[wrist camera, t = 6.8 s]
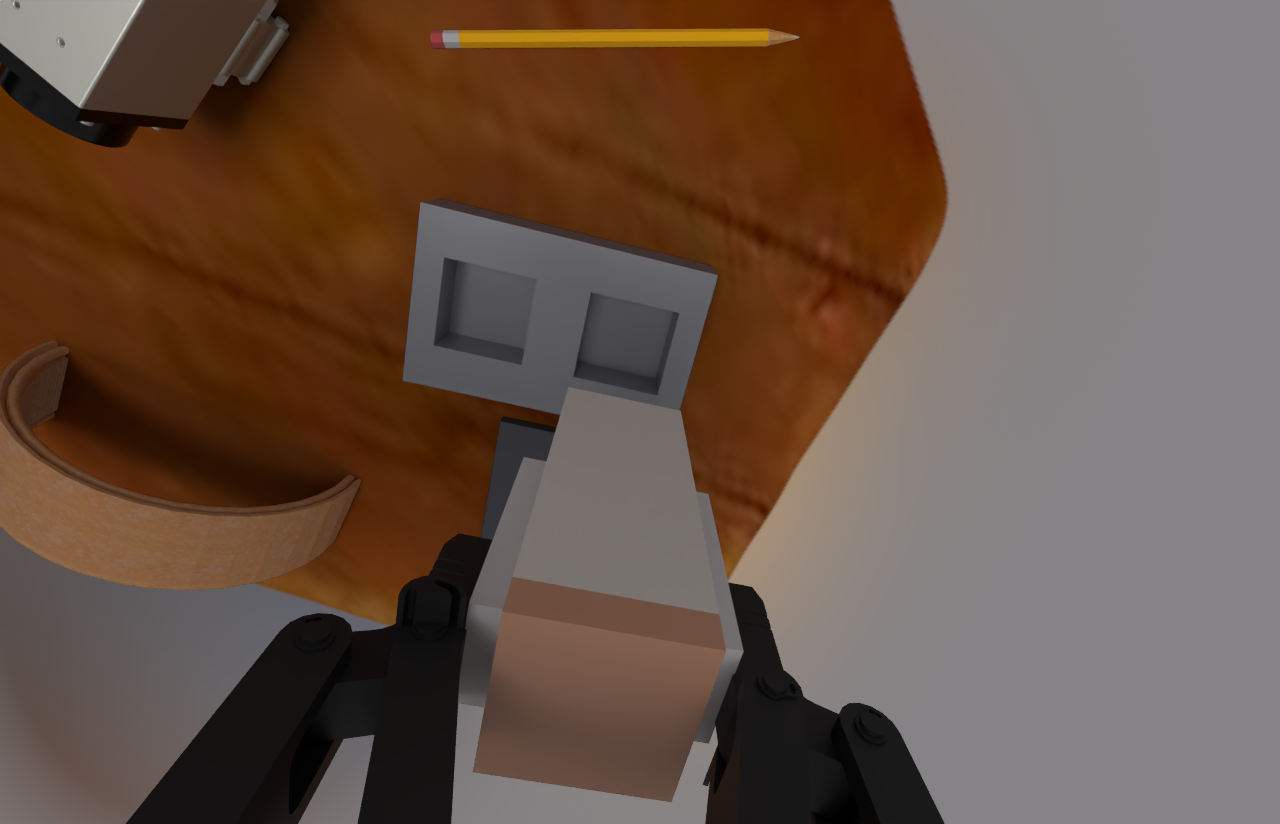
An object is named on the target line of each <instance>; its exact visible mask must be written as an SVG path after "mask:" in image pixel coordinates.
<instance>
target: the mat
mask: <svg viewBox="0 0 1280 824" xmlns="http://www.w3.org/2000/svg"><path fill="white" fill-rule="evenodd" d="M555 431H556V428H553V427H549V426H544V425H539V424H535V423H530V422H525V421H521V420H516V419H511V418H507V417H503V418H502V420H501V422H500V428H499V434H498V439H497V445H496V451H495V457H494V463H493V469H492V475H491V481H490V487H489V493H488V499H487V504H486V510H485V516H484V522H483V528H482V534H481V538H486V539H491V540H493V538H494V535H495V532H496V530H497V527H498V524H499V522H500V519H501V516H502V514H503V511H504V509H505V506H506V503H507V501H508V498H509V495H510V493H511V490H512V487H513V485H514V482H515V479H516V477H517V474H518V471H519V469H520V466H521V463H522V461H523V458H524V457H526V458H531V459H536V460H541V461H546V462H547V458H548V455H549V452H550V448H551V445H552V441H553V438H554V435H555Z"/></svg>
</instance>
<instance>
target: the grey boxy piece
mask: <svg viewBox="0 0 1280 824" xmlns="http://www.w3.org/2000/svg"><path fill="white" fill-rule="evenodd" d="M717 278H718V274H717V273H716V272H715V270H714V269H713V268H712V266H711V265H707V264H703V263H699V262H695V261H691V260H687V259H683V258H679V257H675V256H671V255H667V254H663V253H659V252H654V251H650V250H646V249H642V248H638V247H634V246H630V245H626V244H622V243H618V242H614V241H610V240H606V239H602V238H598V237H594V236H590V235H586V234H582V233H578V232H574V231H569V230H565V229H561V228H557V227H553V226H549V225H545V224H541V223H537V222H533V221H529V220H525V219H521V218H517V217H513V216H509V215H505V214H501V213H497V212H493V211H489V210H484V209H480V208H476V207H472V206H468V205H464V204H460V203H456V202H452V201H448V200H444V199H436V200H430V201H424V202H421V204H420V214H419V224H418V234H417V243H416V253H415V263H414V273H413V283H412V293H411V303H410V312H409V322H408V332H407V342H406V352H405V362H404V372H403V381H407V382H412V383H417V384H421V385H426V386H430V387H435V388H440V389H444V390H449V391H453V392H458V393H463V394H467V395H472V396H476V397H481V398H485V399H490V400H495V401H499V402H504V403H508V404H513V405H518V406H522V407H527V408H531V409H536V410H541V411H545V412H550V413H554V414H559V415H560V414H561V411H562V407H563V404H564V401H565V397H566V394H567V391H568V387H572V388H576V389H581V390H586V391H590V392H595V393H600V394H604V395H609V396H614V397H618V398H623V399H628V400H633V401H637V402H642V403H647V404H651V405H656V406H661V407H665V408H670V409H675V410H680V407H681V404H682V400H683V397H684V393H685V390H686V386H687V383H688V379H689V376H690V372H691V369H692V365H693V362H694V358H695V355H696V351H697V348H698V344H699V341H700V337H701V334H702V330H703V327H704V323H705V320H706V316H707V313H708V309H709V306H710V302H711V299H712V295H713V292H714V288H715V285H716V281H717Z"/></svg>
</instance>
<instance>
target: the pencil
mask: <svg viewBox="0 0 1280 824" xmlns="http://www.w3.org/2000/svg"><path fill="white" fill-rule="evenodd" d="M797 38H800V37H798V36H795V35H792V34H788V33H784V32H779V31H775V30H771V29H614V30H436V31H431V33H430V41H431V44H432V46H433V48H551V47H723V46H770V45H774V44H778V43H782V42H786V41H790V40H794V39H797Z"/></svg>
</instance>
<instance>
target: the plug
mask: <svg viewBox="0 0 1280 824" xmlns="http://www.w3.org/2000/svg"><path fill="white" fill-rule="evenodd" d="M725 653H726V647H725V642H724V636H723V631H722V626H721V621H720V615H719V610H718V605H717V600H716V594H715V589H714V584H713V578H712V573H711V568H710V563H709V557H708V552H707V547H706V541H705V536H704V531H703V526H702V520H701V515H700V510H699V505H698V499H697V494H696V489H695V483H694V478H693V473H692V468H691V462H690V457H689V452H688V446H687V441H686V436H685V431H684V425H683V420H682V415H681V411H680V410H675V409H670V408H665V407H661V406H656V405H651V404H647V403H642V402H637V401H633V400H628V399H623V398H618V397H614V396H609V395H604V394H600V393H595V392H590V391H586V390H581V389H576V388H572V387H568V391H567V394H566V397H565V401H564V404H563V407H562V411H561V414H560V418H559V421H558V424H557V428H556V431H555V435H554V438H553V441H552V445H551V448H550V452H549V455H548V458H547V462H546V465H545V468H544V472H543V475H542V479H541V482H540V485H539V489H538V492H537V496H536V499H535V502H534V506H533V509H532V512H531V516H530V519H529V523H528V526H527V529H526V533H525V536H524V540H523V543H522V546H521V550H520V553H519V557H518V560H517V563H516V567H515V570H514V573H513V577H512V580H511V584H510V587H509V590H508V594H507V597H506V601H505V604H504V607H503V611H502V616H501V621H500V627H499V632H498V638H497V643H496V648H495V654H494V659H493V665H492V670H491V676H490V681H489V687H488V692H487V698H486V703H485V709H484V714H483V720H482V725H481V731H480V736H479V741H478V747H477V753H476V758H475V764H474V769H473V772H476V773H482V774H489V775H495V776H502V777H509V778H516V779H522V780H529V781H535V782H542V783H549V784H556V785H562V786H568V787H576V788H582V789H588V790H595V791H602V792H608V793H615V794H622V795H628V796H634V797H641V798H648V799H655V800H661V801H667V802H671V801H672V798H673V796H674V793H675V790H676V788H677V785H678V782H679V779H680V777H681V774H682V771H683V768H684V766H685V763H686V760H687V757H688V755H689V752H690V749H691V746H692V744H693V741H694V738H695V736H696V733H697V730H698V727H699V725H700V722H701V719H702V716H703V714H704V711H705V708H706V705H707V703H708V700H709V697H710V694H711V692H712V689H713V686H714V683H715V681H716V678H717V675H718V672H719V670H720V667H721V664H722V661H723V659H724V656H725Z"/></svg>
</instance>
